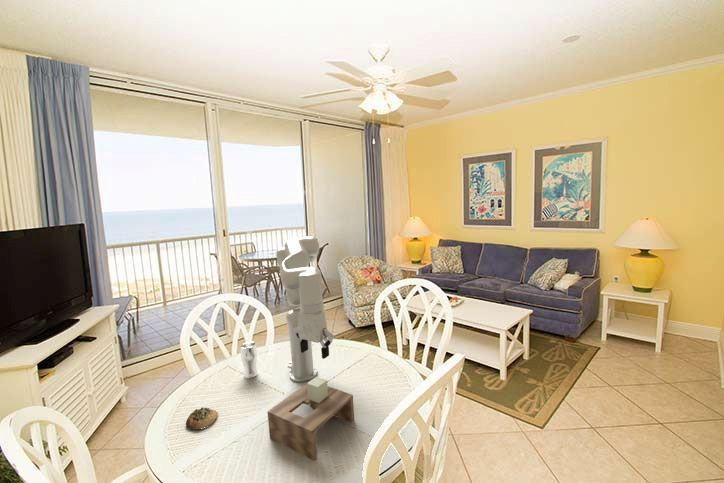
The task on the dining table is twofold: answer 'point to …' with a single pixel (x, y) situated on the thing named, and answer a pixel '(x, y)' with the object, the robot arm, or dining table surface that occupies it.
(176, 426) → the dining table surface
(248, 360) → the marbled vase
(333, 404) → the keyhole shelf
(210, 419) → the bread roll
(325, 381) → the peg
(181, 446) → the dining table surface
